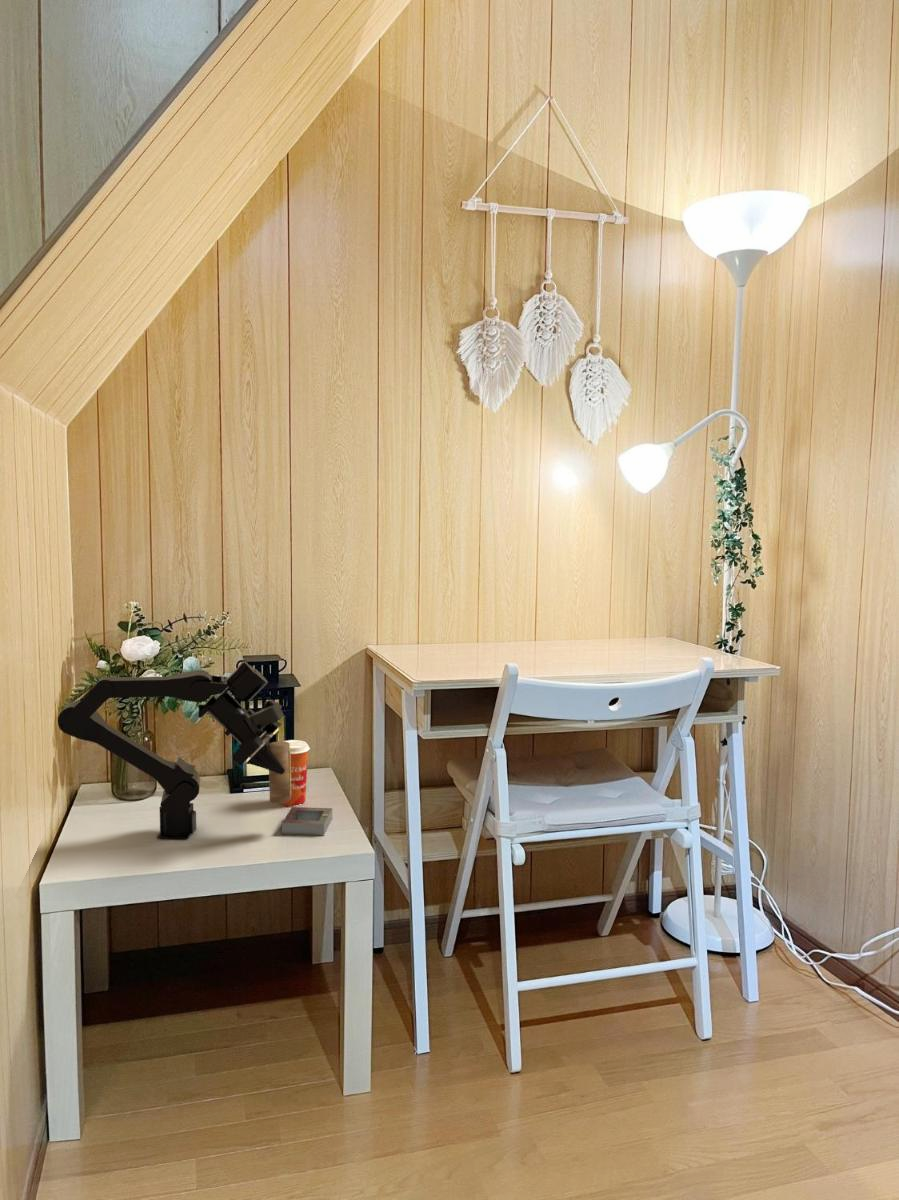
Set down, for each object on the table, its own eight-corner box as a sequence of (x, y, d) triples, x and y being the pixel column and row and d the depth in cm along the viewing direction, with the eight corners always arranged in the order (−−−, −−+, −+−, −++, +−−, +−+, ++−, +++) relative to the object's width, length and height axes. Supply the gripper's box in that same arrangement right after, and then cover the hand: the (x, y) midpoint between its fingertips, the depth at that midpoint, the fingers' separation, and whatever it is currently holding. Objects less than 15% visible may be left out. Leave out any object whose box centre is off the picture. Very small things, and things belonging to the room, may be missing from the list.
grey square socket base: (282, 834, 199) (281, 821, 199) (292, 818, 209) (292, 806, 209) (324, 835, 199) (324, 823, 198) (332, 819, 208) (332, 807, 208)
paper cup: (277, 808, 215) (276, 749, 213) (275, 798, 222) (274, 740, 221) (311, 806, 217) (311, 747, 215) (308, 795, 224) (308, 738, 222)
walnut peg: (267, 802, 197) (265, 746, 196) (272, 795, 201) (271, 741, 200) (288, 803, 197) (287, 747, 195) (293, 796, 201) (292, 741, 200)
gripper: (246, 701, 187) (302, 756, 188) (270, 681, 206) (321, 731, 206) (209, 739, 189) (264, 793, 189) (236, 716, 207) (287, 766, 208)
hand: (286, 769), depth 198 cm, fingers closed on walnut peg, 4 cm apart
